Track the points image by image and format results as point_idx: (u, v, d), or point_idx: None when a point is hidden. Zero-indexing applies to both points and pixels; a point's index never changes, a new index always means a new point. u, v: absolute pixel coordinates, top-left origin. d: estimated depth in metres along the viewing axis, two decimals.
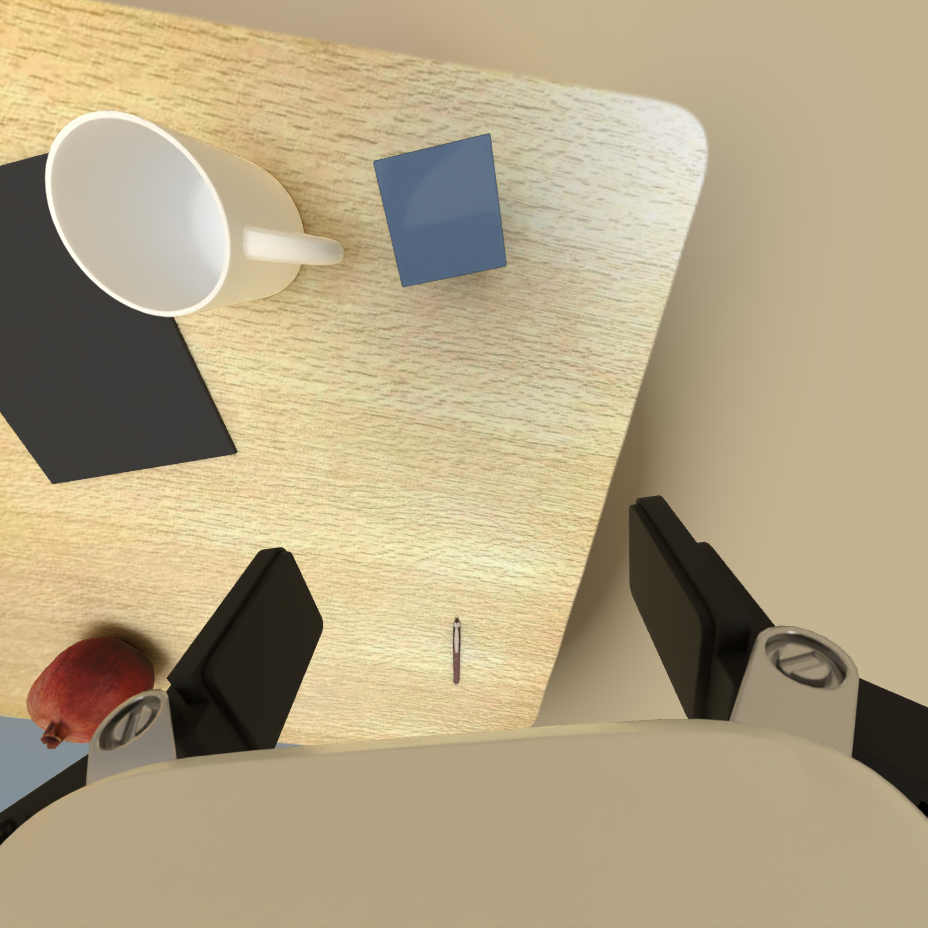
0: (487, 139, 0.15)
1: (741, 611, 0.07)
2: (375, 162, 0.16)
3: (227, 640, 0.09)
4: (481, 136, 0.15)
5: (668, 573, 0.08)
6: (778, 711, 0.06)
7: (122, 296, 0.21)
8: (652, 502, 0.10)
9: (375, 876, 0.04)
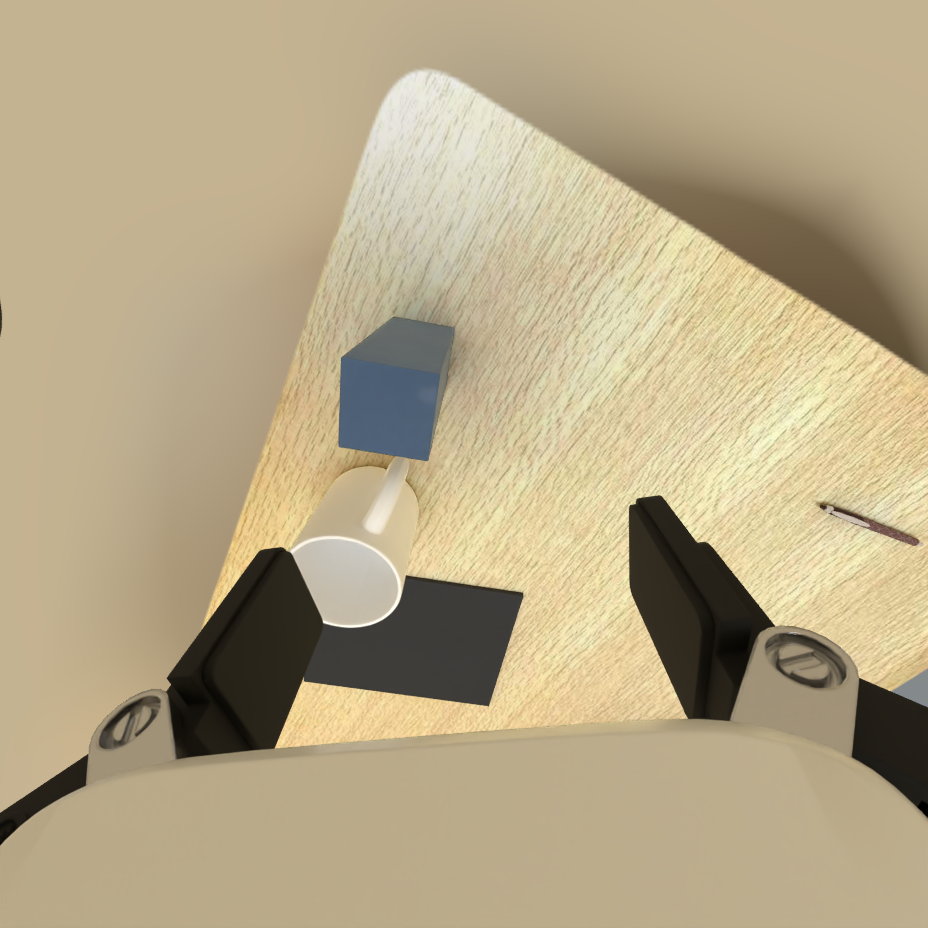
0: (344, 360, 0.19)
1: (741, 611, 0.07)
2: (339, 445, 0.20)
3: (227, 640, 0.09)
4: (341, 364, 0.19)
5: (668, 573, 0.08)
6: (778, 711, 0.06)
7: (378, 616, 0.30)
8: (652, 502, 0.10)
9: (375, 876, 0.04)
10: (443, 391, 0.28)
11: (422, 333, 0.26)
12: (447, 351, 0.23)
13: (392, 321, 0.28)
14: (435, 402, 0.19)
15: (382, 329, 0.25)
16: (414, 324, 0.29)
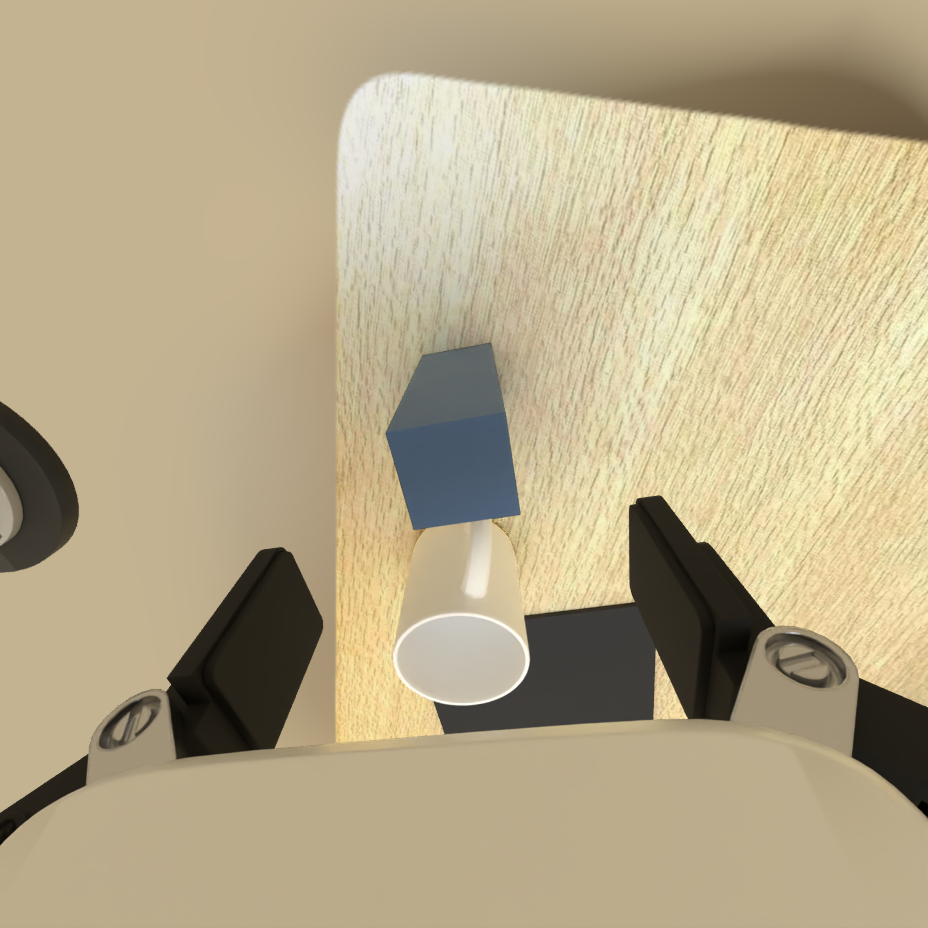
0: (390, 434, 0.15)
1: (741, 610, 0.07)
2: (414, 528, 0.17)
3: (227, 640, 0.09)
4: (388, 440, 0.16)
5: (668, 573, 0.08)
6: (778, 711, 0.06)
7: (511, 684, 0.26)
8: (652, 502, 0.10)
9: (375, 876, 0.04)
10: None
11: (460, 364, 0.23)
12: (497, 376, 0.19)
13: (423, 361, 0.25)
14: (509, 446, 0.16)
15: (416, 376, 0.22)
16: (447, 356, 0.25)
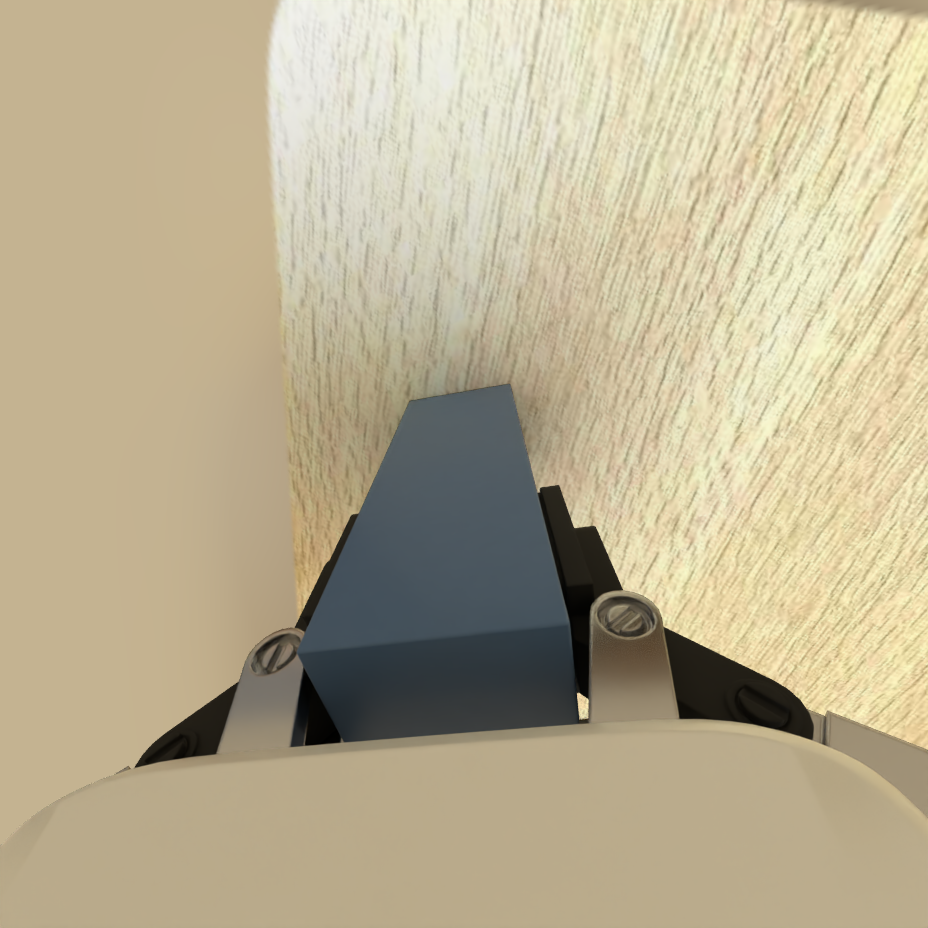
0: (306, 656, 0.07)
1: (586, 578, 0.08)
2: None
3: None
4: (304, 664, 0.07)
5: None
6: (619, 667, 0.07)
7: None
8: (549, 491, 0.11)
9: (375, 876, 0.04)
10: None
11: (465, 428, 0.14)
12: None
13: (409, 415, 0.17)
14: (572, 680, 0.07)
15: (394, 450, 0.14)
16: (445, 406, 0.17)
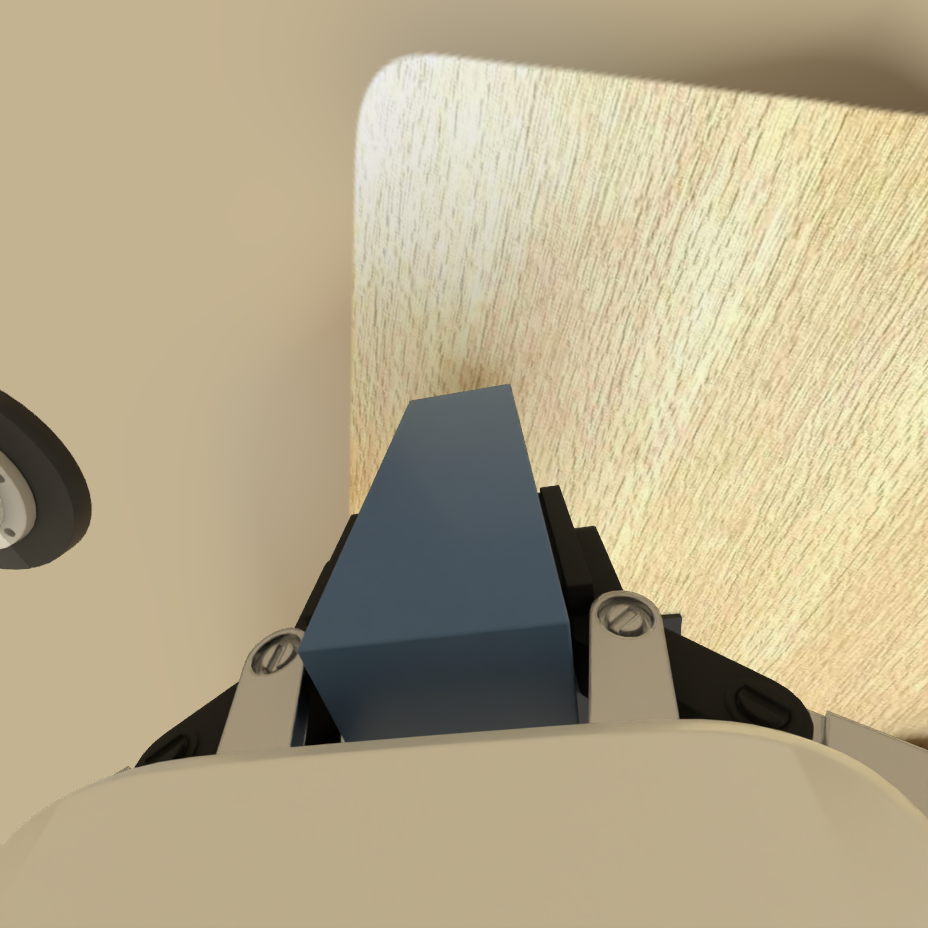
0: (307, 655, 0.07)
1: (586, 578, 0.08)
2: None
3: None
4: (305, 663, 0.07)
5: None
6: (619, 667, 0.07)
7: None
8: (549, 491, 0.11)
9: (375, 876, 0.04)
10: None
11: (465, 428, 0.14)
12: None
13: (409, 415, 0.17)
14: (572, 678, 0.07)
15: (394, 450, 0.14)
16: (445, 406, 0.17)
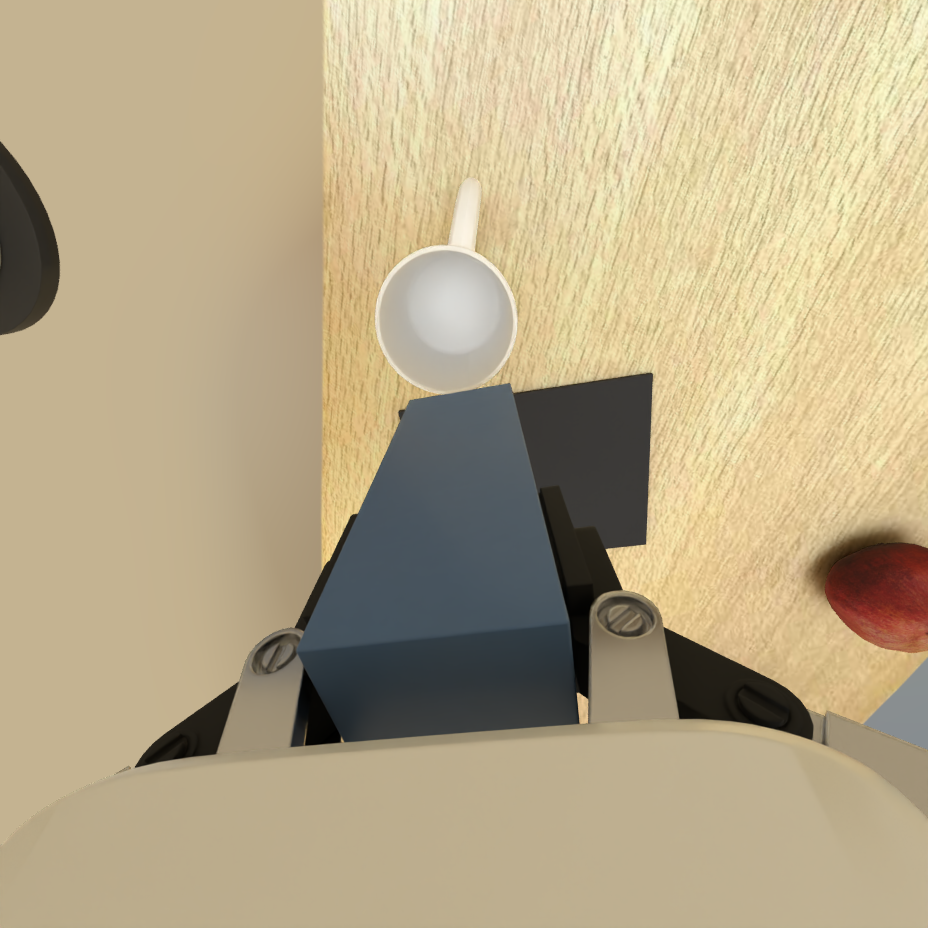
0: (305, 655, 0.07)
1: (585, 578, 0.08)
2: None
3: None
4: (303, 663, 0.07)
5: None
6: (619, 667, 0.07)
7: (498, 364, 0.25)
8: (549, 491, 0.11)
9: (374, 876, 0.04)
10: None
11: (465, 427, 0.14)
12: (531, 470, 0.11)
13: (409, 414, 0.17)
14: (572, 678, 0.07)
15: (394, 449, 0.14)
16: (445, 405, 0.17)
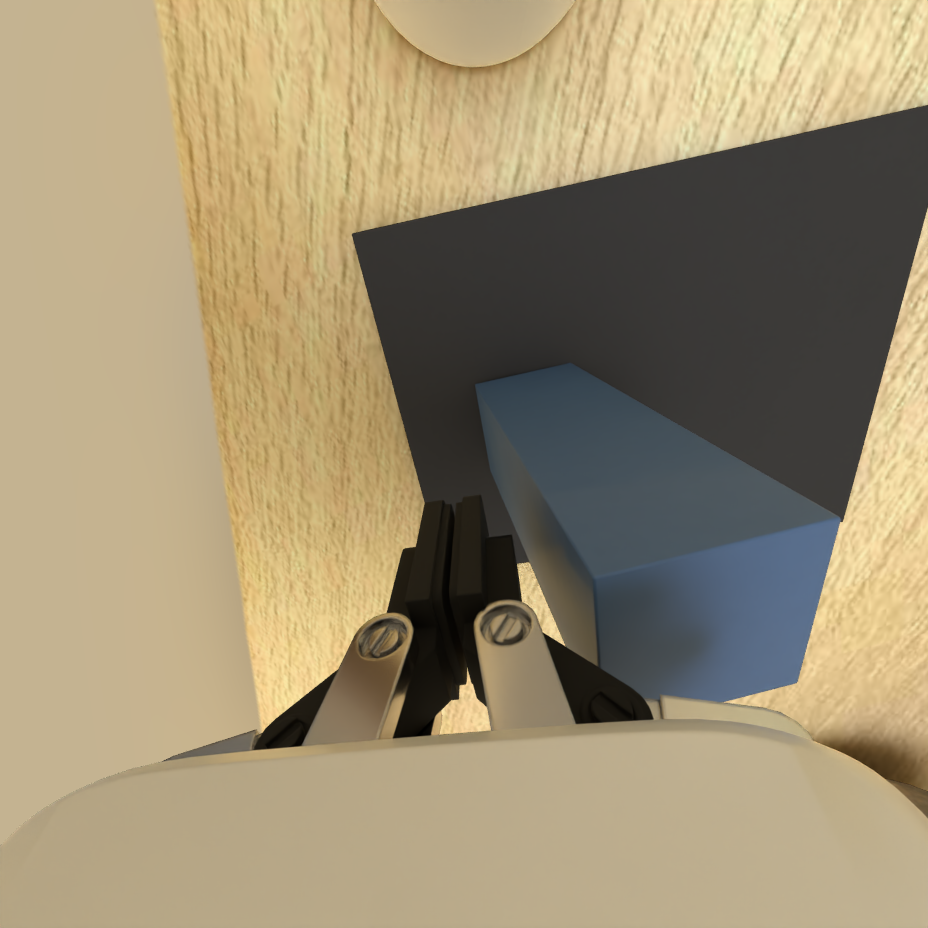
0: (603, 580, 0.07)
1: (476, 587, 0.08)
2: None
3: (439, 573, 0.09)
4: (596, 591, 0.07)
5: None
6: (510, 676, 0.07)
7: None
8: (469, 500, 0.11)
9: (375, 876, 0.04)
10: None
11: (565, 398, 0.15)
12: (674, 422, 0.12)
13: (489, 395, 0.17)
14: (823, 576, 0.08)
15: (507, 422, 0.14)
16: (522, 384, 0.17)
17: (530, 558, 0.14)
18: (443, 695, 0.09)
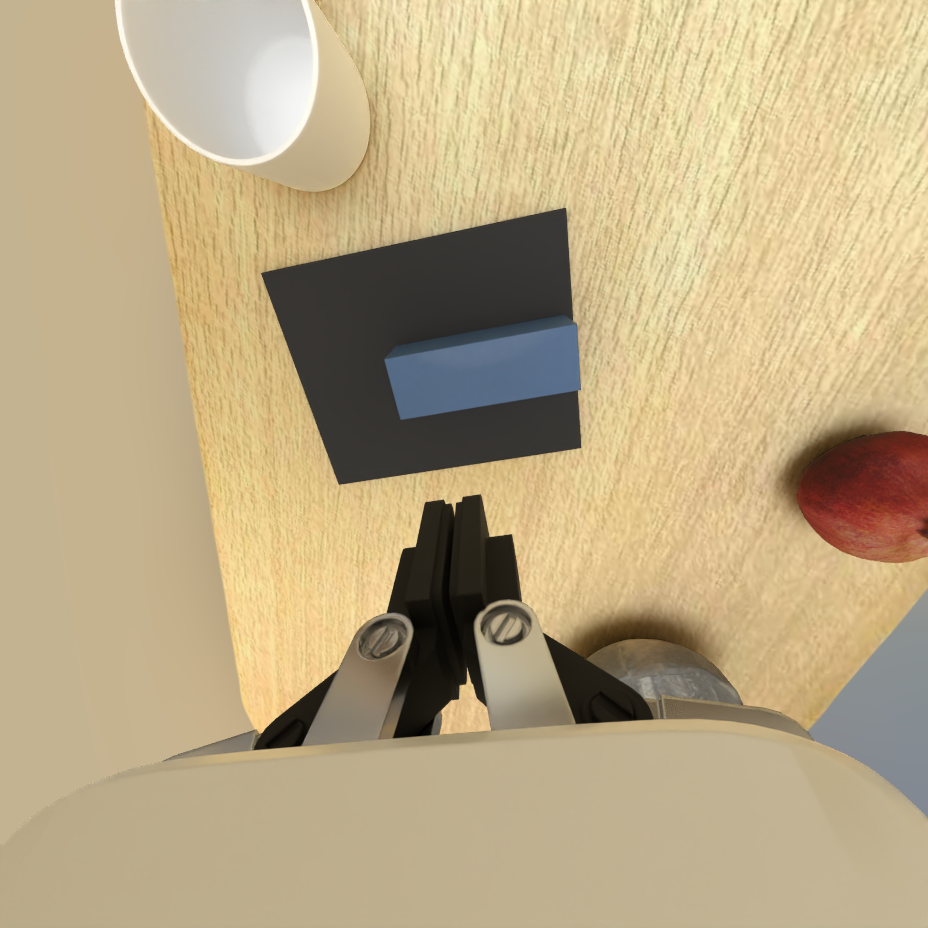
0: (576, 325, 0.27)
1: (476, 587, 0.08)
2: None
3: (439, 573, 0.09)
4: (576, 328, 0.27)
5: None
6: (510, 676, 0.07)
7: (305, 113, 0.18)
8: (469, 500, 0.11)
9: (375, 876, 0.04)
10: None
11: (449, 339, 0.30)
12: (497, 327, 0.31)
13: (413, 352, 0.28)
14: None
15: (460, 344, 0.28)
16: (411, 349, 0.30)
17: (501, 397, 0.29)
18: (443, 695, 0.09)
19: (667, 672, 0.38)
